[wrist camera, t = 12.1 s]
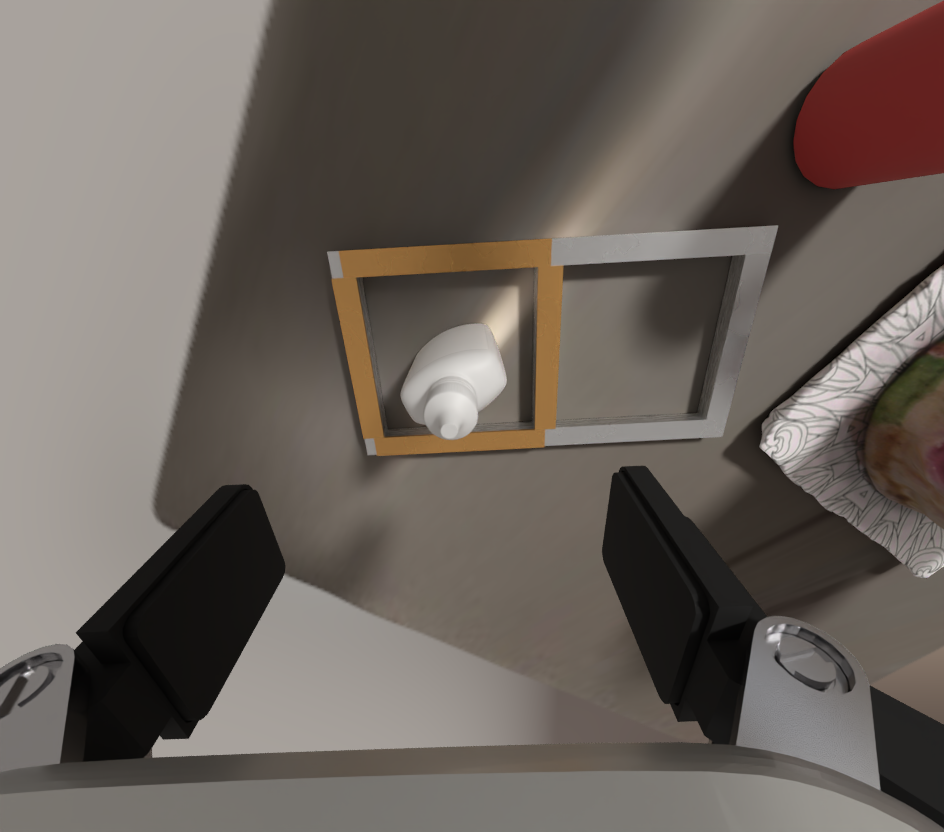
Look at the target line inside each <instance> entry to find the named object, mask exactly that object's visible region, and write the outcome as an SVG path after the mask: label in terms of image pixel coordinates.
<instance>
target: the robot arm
mask: <svg viewBox="0 0 944 832" xmlns="http://www.w3.org/2000/svg"><path fill="white" fill-rule="evenodd" d="M602 555H603V560H604V563H605V566H606V568H607V571H608V573H609V576H610V578H611V581H612V583H613V585H614V588H615V590H616V593H617V595H618V598H619V600H620V602H621V605H622V607H623V610H624V612H625V615H626V617H627V619H628V622H629V624H630V627H631V629H632V632H633V634H634V636H635V639H636V641H637V644H638V646H639V649H640V651H641V653H642V656H643V658H644V661H645V663H646V666H647V668H648V670H649V673H650V675H651V678H652V680H653V683H654V685H655V687H656V690H657V692H658V694H659V697H660V698H661V700H662V701H663V702H664V703H665V704H671V707H672V709H673V711H674V714H675V716H676V718H677V721H678V722H684V721H698V723H699V725H700V727H701V729H702V732H703V734H704V735H705V736H706V737H707V738H709V742H708V744H703V743H683V742H674V743H576V744H543V745H542V744H540V745H507V746H473V747H472V746H471V747H469V746H468V747H436V748H405V749H375V750H344V751H316V752H286V753H260V754H236V755H211V756H186V757H159V758H152V747H153V745H154V743H155V742H156V740H157V739H158V737H159V735H160V736H161V737H162V739H188V738H189V737H190V735H191V734H192V732H193V730H194V728H195V726H196V725H197V723H198V721H199V720H201V719H203V718H204V717H205V716H206V715H207V714H208V712H209V711H210V709H211V708H212V705H213V704H214V702H215V700H216V698H217V697H218V695H219V693H220V691H221V689H222V687H223V686H224V684H225V682H226V680H227V678H228V677H229V675H230V673H231V671H232V669H233V667H234V665H235V664H236V662H237V660H238V658H239V656H240V655H241V653H242V651H243V649H244V647H245V646H246V644H247V642H248V640H249V638H250V636H251V635H252V633H253V631H254V629H255V627H256V625H257V624H258V621H259V620H260V618H261V616H262V614H263V613H264V611H265V609H266V607H267V605H268V604H269V602H270V600H271V598H272V596H273V594H274V593H275V591H276V589H277V587H278V585H279V583H280V582H281V580H282V578H283V576H284V573H285V562H284V559H283V556H282V554H281V551H280V549H279V546H278V543H277V541H276V538H275V535H274V533H273V530H272V528H271V525H270V522H269V520H268V517H267V514H266V512H265V509H264V507H263V504H262V501H261V499H260V496H259V494H258V492H257V491H256V490H253V489H252V488H251V487H250V486H249V485H246V484H243V485H225V486H222V487H221V488H219V489H218V490H217V491H216V492H215V493H214V494H213V495H212V496H211V497H210V498H209V499H208V500H207V501H206V502H205V503H204V504H203V505H202V506H201V507H200V508H199V509H198V510H197V511H196V512H195V513H194V514H193V515H192V516H191V517H190V518H189V519H188V520H187V521H186V522H185V523H184V524H183V525H182V526H181V527H180V528H179V529H178V530H177V531H176V532H175V533H174V534H173V535H172V536H171V537H170V538H169V539H168V540H167V541H166V542H165V543H164V544H163V546H161V548H160V549H158V550H157V551H156V552H155V554H154V555H153V556H152V557H151V558H150V559H149V560H148V561H147V562H146V563H145V564H144V565H143V566H142V567H141V568H140V569H139V570H138V571H137V572H136V573H135V574H134V575H133V576H132V577H131V578H130V579H129V580H128V581H127V582H126V583H125V584H124V585H123V586H122V587H121V588H120V589H119V590H118V591H117V592H116V593H115V594H114V595H113V596H112V597H111V598H110V599H109V600H108V601H107V602H106V603H105V604H104V605H103V606H102V607H101V608H100V609H99V610H98V611H97V612H96V613H95V614H94V615H93V616H92V617H91V618H90V619H89V620H88V621H87V622H86V623H85V624H84V625H83V626H82V627H81V628H80V629H79V630H78V631H77V632H76V634H77V635H78V636H79V637H80V639H81V640H82V641H83V642H82V643H81V644H80V645H79V646H78V647H77V648H76V649H75V650H74V649H72V648H71V647H70V646H68V645H63V644H55V645H51V646H46V647H42V648H39V649H37V650H34V651H32V652H29V653H27V654H24V655H23V656H21V657H19V658H17V659H15V660H13V661H12V662H10V663H8V664H6V665H5V666H3V667H2V668H0V832H944V725H943V724H941V723H939V722H938V721H936V720H934V719H932V718H930V717H928V716H926V715H924V714H923V713H920V712H919V711H917V710H915V709H913V708H911V707H909V706H907V705H906V704H904V703H902V702H900V701H898V700H896V699H894V698H892V697H891V696H889V695H887V694H885V693H883V692H881V691H879V690H877V689H875V688H874V687H872V686H870V685H869V682H868V679H867V676H866V673H865V671H864V670H863V668H862V667H861V665H860V664H859V662H858V661H857V659H856V658H855V657H854V656H853V655H852V654H851V653H850V652H849V651H848V650H847V649H846V648H845V647H844V646H843V645H842V644H841V643H839V642H838V641H837V640H835V639H834V638H833V637H831V636H830V635H828V634H827V633H826V632H824V631H822V630H820V629H818V628H816V627H815V626H813V625H811V624H809V623H806V622H803V621H800V620H797V619H795V618H791V617H784V616H772V617H767V616H766V615H765V613H764V612H763V611H762V609H761V608H760V607H759V606H758V604H757V603H756V602H755V601H754V599H753V598H752V597H751V595H750V594H749V593H748V592H747V590H746V589H745V588H744V586H743V585H742V584H741V583H740V581H739V580H738V579H737V578H736V576H735V575H734V574H733V572H732V571H731V570H730V569H729V567H728V566H727V565H726V563H725V562H724V561H723V560H722V558H721V557H720V556H719V555H718V553H717V552H716V551H715V549H714V548H713V547H712V546H711V544H710V543H709V542H708V540H707V539H706V538H705V537H704V535H703V534H702V533H701V532H700V530H699V529H698V528H697V526H696V525H695V524H694V523H693V522H692V521H691V520H690V519H689V518H688V517H685V516H684V515H683V514H682V512H681V511H680V510H679V508H678V507H677V506H676V505H675V503H674V502H673V501H672V499H671V498H670V497H669V495H668V494H667V493H666V492H665V490H664V489H663V488H662V486H661V485H660V484H659V482H658V481H657V480H656V478H655V477H654V476H653V475H652V473H651V472H650V471H649V469H648V468H647V467H646V466H626V467H621V468H620V470H619V472H618V473H614V474H613V476H612V482H611V489H610V496H609V504H608V511H607V518H606V525H605V533H604V540H603V547H602Z"/></svg>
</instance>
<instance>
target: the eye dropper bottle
mask: <svg viewBox="0 0 944 832" xmlns="http://www.w3.org/2000/svg"><path fill="white" fill-rule="evenodd" d="M506 383H507V379H506V373H505V369H504V365H503V362H502V358H501V355H500V352H499V348H498V345H497V343H496V341H495V338H494V336H493V334H492V332H491V330H490V328H489V327H488V326H487V325H485V324H483V323H473V324H465V325H460V326H457V327H453V328H451V329H448V330H446V331H444V332H442V333H440V334H439V335H437V336H435V337H434V338H433V339H431V340H430V341H429V342H428V343H427V344H426V345H425V346H424V347H423V348H422V349H421V350H420V351H419V352H418V354H417V355H416V357H415V359H414V361H413V364H412V366H411V368H410V370H409V373H408V375H407V377H406V379H405V382H404V384H403V387H402V390H401V400H402V402H403V404H404V406H405V408H406V410H407V412H408V413H409V415H410V416H411V418H412V419H413V420H414V421H415V422H416V423H419V424H423V425H426V426H427V428H428V430H430V432H432V433H433V434H434V435H436V436H437V437H439V438H441V439H446V440H456V439H461V438H463V437H466V435H468V434H470V432H472V430H474V428H475V426H476V423H477V420H478V412H479V411H481V410H482V409H483V408H485V407H486V406H487V405H489V404H490V403H491V402H492V401H493V400H494V399H495V398H496V397H497V396H498V395H499V394H500V393H501V392H502V390H503V389H504V388H505V385H506Z"/></svg>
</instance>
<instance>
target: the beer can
mask: <svg viewBox="0 0 944 832" xmlns="http://www.w3.org/2000/svg"><path fill="white" fill-rule="evenodd" d="M793 145H794V153H795V161H796V163H797V165H798V167H799V169H800V171H801V172H802V174H803V176H804V177H806V178H807V179H808V180H810V181H811V182H812V183H814V184H815V185H817V186H819V187H825V188H830V189H840V188H846V187H853V186H860V185H866V184H873V183H880V182H887V181H893V180H900V179H907V178H913V177H920V176H927V175H933V174H940V173H944V1H942V2H940V3H938V4H936V5H934V6H932V7H930V8H928V9H926V10H924V11H922V12H921V13H919V14H917V15H915V16H913V17H911V18H909V19H907V20H905V21H903V22H901V23H899V24H897V25H895V26H893V27H891V28H889V29H887V30H885V31H883V32H881V33H879V34H877V35H875V36H874V37H872V38H870V39H868V40H866V41H864V42H862V43H860V44H859V45H857V46H855V47H853V48H852V49H850V50H848V51H846V52H845V53H843V54H842V55H841V56H840V57H839V58H838V59H837V60H836V61H835V62H834V63H833V64H832V65H831V66H830V67H828V68H827V69H826V70H825V71H824V72H823V74H822V75H821V76H820V78H819V79H818V81H817V82H816V83H815V85H814V86H813V88H812V89H811V91H810V92H809V94H808V95H807V97H806V99H805V101H804V104H803V106H802V109H801V111H800V113H799V116H798V118H797V122H796V128H795V134H794V140H793Z"/></svg>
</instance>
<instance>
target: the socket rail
mask: <svg viewBox="0 0 944 832" xmlns="http://www.w3.org/2000/svg"><path fill="white" fill-rule="evenodd" d="M778 226H779V225H775V226H758V227H741V228H724V229H707V230H690V231H672V232H655V233H638V234H621V235H604V236H587V237H570V238H553V239H535V240H518V241H501V242H484V243H467V244H450V245H433V246H416V247H399V248H381V249H364V250H347V251H330V252H327V254H328V259H329V264H330V269H331V274H332V279H331V280H332V285H333V290H334V295H335V300H336V305H337V310H338V315H339V320H340V325H341V330H342V335H343V340H344V345H345V349H346V354H347V359H348V364H349V369H350V374H351V379H352V384H353V389H354V394H355V399H356V404H357V409H358V414H359V419H360V424H361V429H362V434H363V439H365V444H366V449H367V454H368V455H377V456H387V455H407V454H426V453H445V452H464V451H484V450H503V449H522V448H541V447H545V446H554V445H573V444H592V443H611V442H631V441H650V440H669V439H689V438H708V437H722V436H723V432H724V428H725V425H726V421H727V417H728V413H729V410H730V406H731V402H732V398H733V395H734V391H735V387H736V383H737V380H738V376H739V372H740V368H741V365H742V361H743V357H744V353H745V350H746V346H747V342H748V338H749V335H750V331H751V327H752V323H753V320H754V316H755V312H756V308H757V305H758V301H759V297H760V293H761V290H762V286H763V282H764V278H765V275H766V271H767V267H768V263H769V259H770V256H771V252H772V248H773V244H774V241H775V237H776V233H777V229H778ZM717 256H732V261H731V265H730V269H729V274H728V278H727V283H726V287H725V291H724V296H723V300H722V305H721V309H720V314H719V318H718V322H717V327H716V331H715V336H714V340H713V344H712V349H711V353H710V358H709V362H708V367H707V371H706V375H705V380H704V384H703V389H702V393H701V397H700V402H699V406H698V411H697V413H684V414H665V415H646V416H627V417H608V418H589V419H570V420H556V409H557V388H558V367H559V347H560V326H561V305H562V285H563V265H578V264H595V263H613V262H630V261H647V260H665V259H682V258H699V257H717ZM530 267H534V324H533V381H532V422H513V423H494V424H476V426H475V428H474V430H472V432H470V434H468V435H466V437H463V438H461V439H456V440H446V439H441V438H439V437H437V436H436V435H434V434H433V433H432V432H430V430H428V428H427V427H418V428H399V429H388V428H387V422H386V416H385V410H384V404H383V398H382V392H381V386H380V380H379V374H378V368H377V362H376V356H375V350H374V344H373V338H372V332H371V326H370V320H369V315H368V309H367V303H366V297H365V291H364V285H363V279H362V277H373V276H391V275H408V274H425V273H443V272H460V271H477V270H495V269H512V268H530Z"/></svg>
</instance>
